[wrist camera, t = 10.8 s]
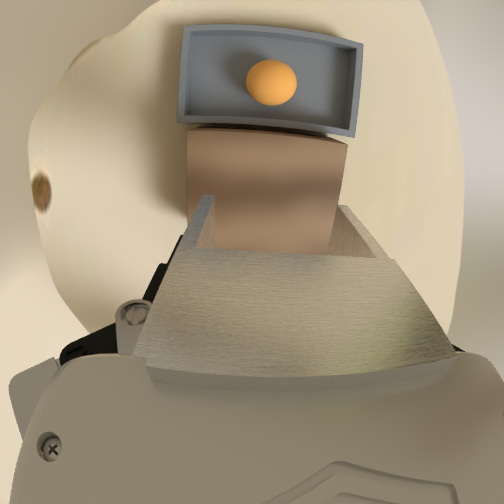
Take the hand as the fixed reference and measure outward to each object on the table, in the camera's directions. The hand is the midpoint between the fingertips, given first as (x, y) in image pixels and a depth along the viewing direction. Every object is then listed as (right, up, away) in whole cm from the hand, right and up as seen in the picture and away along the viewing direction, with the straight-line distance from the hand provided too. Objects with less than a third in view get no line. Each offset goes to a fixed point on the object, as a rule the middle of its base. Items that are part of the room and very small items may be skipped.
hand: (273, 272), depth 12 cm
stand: (0, +8, +14) cm, 16 cm away
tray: (+1, +16, +9) cm, 18 cm away
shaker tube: (0, +1, +1) cm, 2 cm away
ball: (+1, +14, +7) cm, 16 cm away
